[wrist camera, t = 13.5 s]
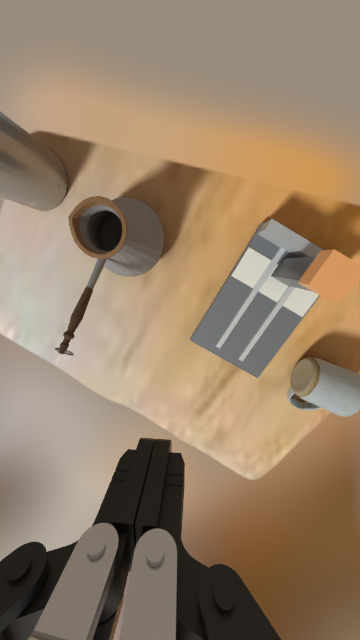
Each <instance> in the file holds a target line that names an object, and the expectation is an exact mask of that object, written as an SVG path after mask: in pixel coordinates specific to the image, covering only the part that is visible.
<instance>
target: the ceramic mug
mask: <svg viewBox="0 0 360 640" xmlns="http://www.w3.org/2000/svg"><path fill="white" fill-rule="evenodd" d="M294 394H296V395H297V396H299V397H300V398H302V399H303V400H305V401H307V402H310V403H304V402H300V401H298V400H296V399H295V398H293V397H292V396H293V395H294ZM288 399H289V402H290V404H292V405H293V406H294V407H296V408H298V409H302V410H317V409H321V408H323V409H325V410H327V411H330V412H332V413H334V414H336V415H339V416H350V415H353V414H355V413H357V412H358V411H359V410H360V375H359V374H358V373H356V372H354V371H351V370H348V369H346V368H343V367H340V366H338V365H335V364H332V363H329V362H327V361H324V360H322V359H319V358H314V357H306V358H303V359H302V360H300V361H299V362H298V363H297V364H296V366H295V367H294V369H293V372H292V375H291V388H290V389H289V391H288Z"/></svg>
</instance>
